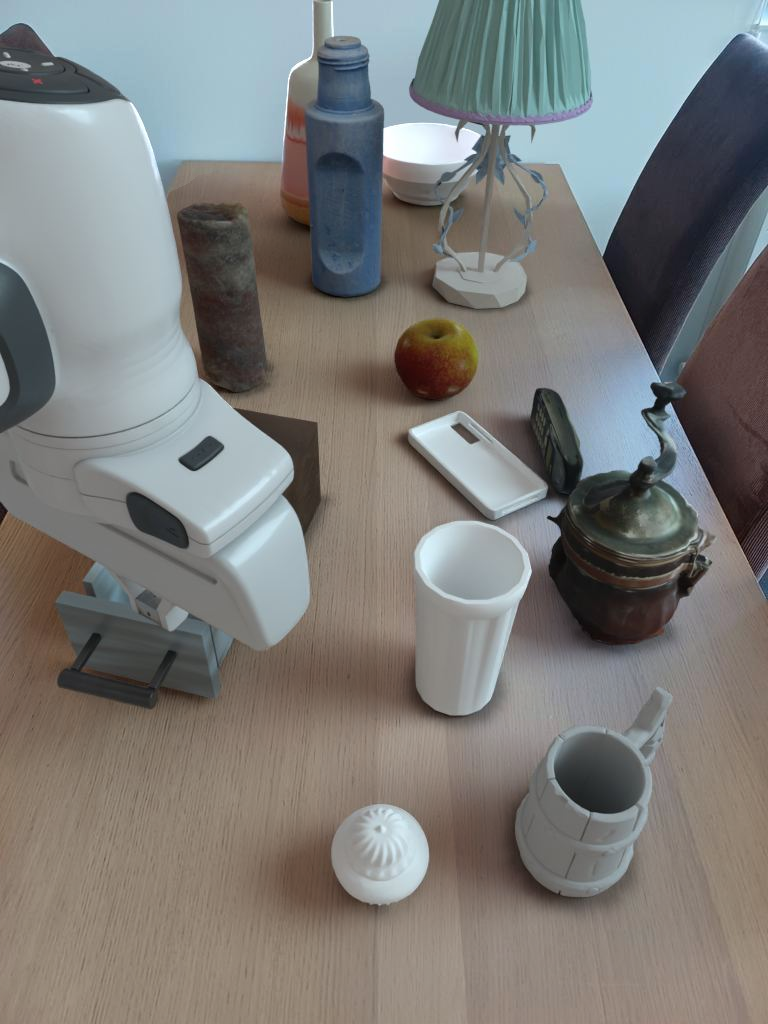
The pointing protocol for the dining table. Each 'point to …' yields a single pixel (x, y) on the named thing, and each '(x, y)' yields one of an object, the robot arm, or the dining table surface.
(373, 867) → the muffin
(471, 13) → the table lamp
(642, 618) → the coffee grinder
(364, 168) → the bottle
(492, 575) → the cup
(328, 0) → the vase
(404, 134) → the bowl
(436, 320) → the fruit
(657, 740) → the mug
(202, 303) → the dark brown hollow tube
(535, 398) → the mobile phone
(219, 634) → the drawer
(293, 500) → the cabinet
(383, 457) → the dining table surface
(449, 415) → the phone case
